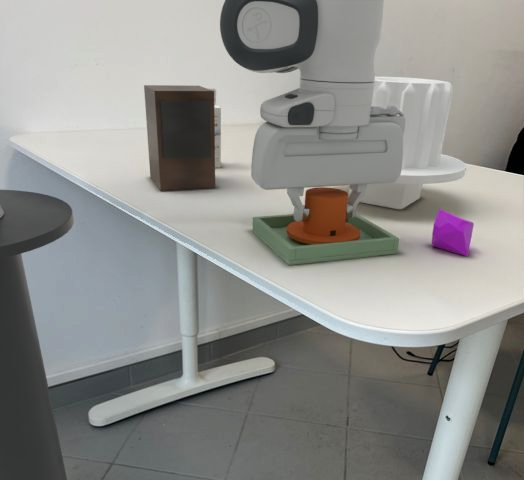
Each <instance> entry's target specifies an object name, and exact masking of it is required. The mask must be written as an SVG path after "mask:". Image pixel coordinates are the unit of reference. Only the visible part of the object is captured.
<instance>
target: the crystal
mask: <svg viewBox="0 0 524 480" xmlns="http://www.w3.org/2000/svg"><path fill="white" fill-rule="evenodd" d="M473 230H474V222H473V221H471V220H468V219H466V218H463V217H461V216H459V215H456V214H454V213H451V212H448V211H446V210H443V209H441V208H439V209H438V212H437V215H436V217H435V220H434V222H433V227H432V234H431V246H433V247H435V248H437V249H441V250H445V251H447V252H451V253H455V254H458V255H461V256H465V257H469V252H470V248H471V247H470V246H471V241H472V236H473Z"/></svg>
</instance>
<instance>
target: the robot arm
mask: <svg viewBox="0 0 524 480" xmlns="http://www.w3.org/2000/svg"><path fill="white" fill-rule="evenodd" d="M384 2H385V0H224V2H223V5H222V8H221V12H220V18H219V30H220V37H221V40H222V43H223V46H224V49H225V50H226V52H227V54H228V55H229V57H230V58H231V59H232V60H233V61H234V62H235V63H236V64H237V65H239V66H240V67H242V68H244V69H246V70H248V71H251V72H254V73H258V74H273V73H277V74H287V73H292V72H294V71H297V70H299V72H300V74H299V75H300V76H299V87H298V88H295V89H292V90H290V91H288V92H286V93H283V94H280V95H277V96H274V97H272V98H269V99H266V100H264V101H263V102H262V103H261V104H260V108H259V109H260V111H259V112H260V118H261V119H262V120H263V121H265V122H263V123H262V124H260V125H259V127H258V128H257V130H256V132H255V136H254V139H253V140H254V141H253V146H252V154H251V165H250V166H251V167H250V169H251V170H250V176H251V179H252V181H253V182H254V183H255V184H256V186H258V187H259V188H260V189H262V190H265V191H271V190H286V194H287V196H288V198H289V200H290V202H291V204H292V206H293V214H294V220H296V221H297V222H303V221H308V220H309V216H308V215H309V212H310V209H309V208H308V207H306V206H305V204H303V202H302V200H301V198H300V197H303V196H304V189H305V188H307V189H309V188H317V187H338V186H339V187H340V186H349V185H350V189H352V192H351V194H350V196H349V198H348V201H347V210H346V218H353V217H355V214H357V206H358V205H359V203H361V202H360V201H361V199H362V197H363V196H364V194H365V193H366V188H367V184H375V183H392V182H395V181H396V180H397V179H398V177H399V176H400V174H401V170H402V160H403V135H404V129H405V123H406V120H405V117H404V115H403V113H402V112H401V111H399V110H398V108H397V107H394V106H389V107H378V106H372V98H373V90H374V81H375V77H376V73H375V66H374V65H375V64H374V62H375V54H376V52H377V48H378V46H379V44H380V43H379V42H380V40H381V39H380V38H381V34H382V33H381V31H382V23H383V16H384V15H383V14H384ZM397 114H399V115H400V116H395V115H397ZM382 115H386V116H382ZM3 215H4V211H3V209H2V207H1V206H0V218H1V217H2V216H3Z"/></svg>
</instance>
